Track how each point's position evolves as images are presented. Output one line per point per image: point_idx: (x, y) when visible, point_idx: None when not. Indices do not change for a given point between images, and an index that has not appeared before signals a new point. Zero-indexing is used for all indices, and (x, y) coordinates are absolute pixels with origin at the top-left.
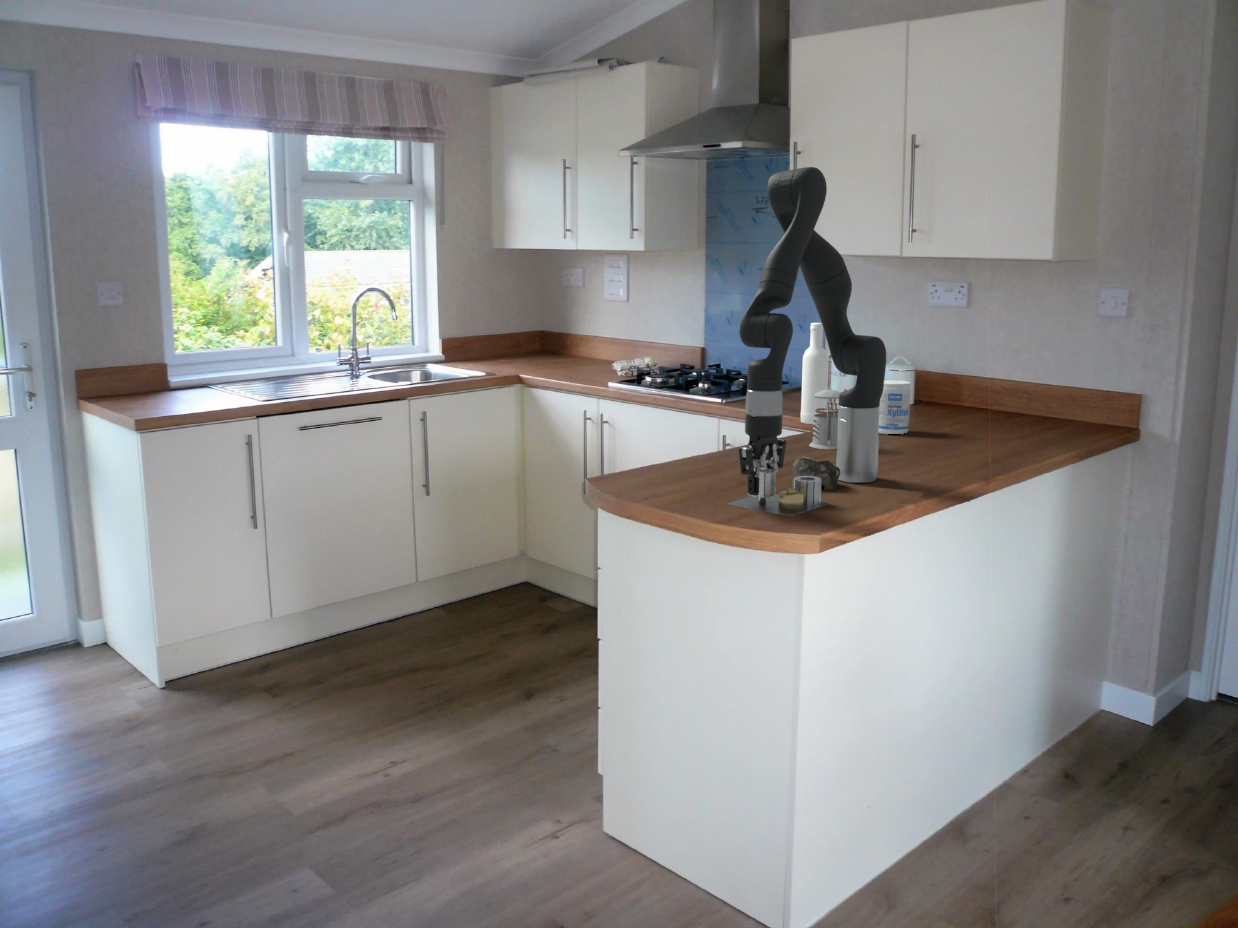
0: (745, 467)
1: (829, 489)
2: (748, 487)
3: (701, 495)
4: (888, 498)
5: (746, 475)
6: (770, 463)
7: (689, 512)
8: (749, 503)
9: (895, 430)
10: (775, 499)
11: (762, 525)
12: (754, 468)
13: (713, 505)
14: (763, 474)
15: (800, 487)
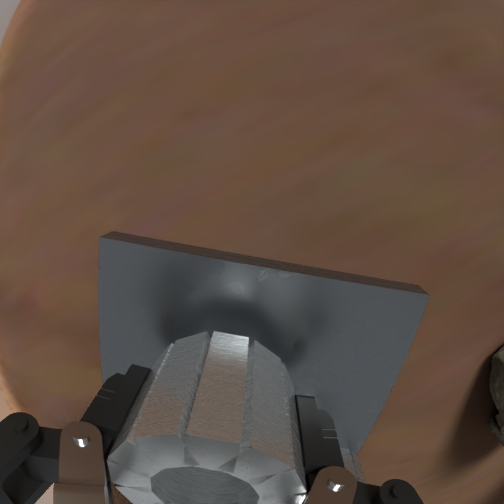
0: (17, 460)
1: (494, 432)
2: (101, 391)
3: (312, 4)
4: (460, 497)
5: (45, 431)
6: (381, 500)
7: (16, 130)
8: (172, 332)
9: None
10: (308, 395)
11: (47, 406)
12: (243, 452)
13: (151, 140)
14: (135, 500)
15: None
